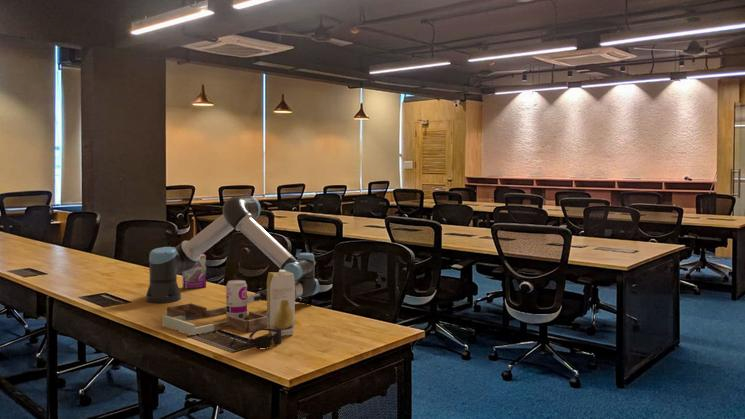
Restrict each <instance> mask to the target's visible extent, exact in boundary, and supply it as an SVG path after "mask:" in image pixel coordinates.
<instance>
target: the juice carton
mask: <svg viewBox="0 0 745 419" xmlns="http://www.w3.org/2000/svg"><path fill="white" fill-rule="evenodd" d="M295 281H296V280H294V275H293V273H291V272H289V271H286V270H282V269H279V270H278V272H274V271H273V272H271V271H270V272H268V274H267V279H266V289H267V301H266V312H267V328H266V329H276V330H281V337H284V336H285V335H286V336H292V334H293V335H294V330H295V323H296V322H295V319H296V318H295V316H296V315H295V314H296V313H295V312H296V310H295V309H296V307H295V306H296V303H295V302H296V300H295ZM267 332H268V334H270V336H273V335H274V334H276V333H277V332H272V331H267Z"/></svg>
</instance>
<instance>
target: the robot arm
mask: <svg viewBox="0 0 745 419" xmlns="http://www.w3.org/2000/svg"><path fill="white" fill-rule="evenodd" d="M261 208H262V207H261V204H260V201H259V200H258V199H257V198H256V197H254V196H252V195H247V194H246V195H243V196H241V195H240V196H232V197H230V198H228V199H226V200H225V202H224V204H223V206H222V214H221V215H220V216H219V217H217V218H216V219H215V220H214V221H213V222H211V223H210V224H208V225H207V226H205V227H204V228H203V229H201V231H200V232H198V233H197V234H195V236H193V237H192V238H190V240H183V241H182V242H181V243H179V244H178V245H177V246H175V247H174V246H173V247H172V246H163V247H157V248H154V249H152V250H151V251H150V252H149V258H148V261H149V264H148V265H149V285H148V288H147V291H146V293H145V301H146V302H148V303H152V304H153V303H156V304H163V303H164V304H165V303H172V302H177V301H179V300H181V299H182V294H181V291H180V288H179V285H178V280H177V278H178V274H179V273H182V271H187V270H190V269H191V268H193V267H194V266H195V265H196V263H197V261H199V260H200V258H201V255H203V254H204V253H206V251H208V250H209V249H210V248H211V247H213V246H214V245H215V244H217V243H218V242H220V241H221V239H223V238H224V237H226V236H227V235H228V234H229V233H230V232H233V230H235V231H237V232H239V231H240V232H241V234H243V235H244V236H245V237H246V238H247V239H248V240H249V241H250V242H251V243H253V245H255V246H256V247H257V248H258V249H259V250H260V251H261V252H262V253H263V254H264V255H265V256H267V258H269V259H270V260H271V261H272V262H273V263H274V264H275V265H276V266H277V267H279V270H286V271H289V272H291V273H293V275H294V280H295V301H296V300H297V299H300V298H305V297H311V296H314V295H316V294H318V293H319V291H320V287H321V285H320V283H319V280H318V279H317V278H316V277H315V262H316V261H315V255H314V253H312V252H301V253H298V254H297V259H296V257H294V256H293V255H292V254H291V253H290V252H289V251H288V250H287V249H286V248H285V247H283V245H282V244H281V243H280V242H278V240H276V239H275V238H274V237H273V236H272V235H271V234H270V233H269V232H268V231H266V229H264V227H263V226H261V225H260V224H259V223H258V222H257V221H256V219H258V217H260V214H261V212H262V210H261ZM260 301H261V302H262V301H265V302H267V288H266V289H263V290H259V291H256V292H254V294H250V295H249V294H247V304H250V303H254V302H256V303H257V302H260Z"/></svg>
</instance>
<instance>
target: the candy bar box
mask: <svg viewBox="0 0 745 419" xmlns="http://www.w3.org/2000/svg"><path fill="white" fill-rule="evenodd" d="M181 274H182V282H181V284H182V289H184V290H188V289H189V290H190V289H205V288H207V255H206V254H201V258H200V260H199V261H197V263H196V265H195V266H194V267H193V268H191V269H190V270H187V271H182V272H181Z"/></svg>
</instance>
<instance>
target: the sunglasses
mask: <svg viewBox="0 0 745 419" xmlns="http://www.w3.org/2000/svg"><path fill="white" fill-rule="evenodd" d="M259 331H267V332H268V331H272V332H277V333H276V334H274V335H273V336H272V335H261V336H257V337H255V338H252V337H254V335H255V334H256V333H257V332H259ZM236 339H238V340H243V341H246V342H250V343H253V344H254V347H255V348H256V349H257V350H259V349H260V348H267V347H269V348H270V347H271V345H272V342H273V344H274V345H276V346H278V345H277V344H279V343H280V342H281V343H282V336H281V330H276V329H268V328H262V329H257V330H254V331H252V332H251V333H250V334H249V338H247V337H241V336H237V335H235V336H234V337H233V339H232V342H233V341H234V342H235V340H236ZM281 343H280V344H281ZM280 344H279V345H280Z"/></svg>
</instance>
